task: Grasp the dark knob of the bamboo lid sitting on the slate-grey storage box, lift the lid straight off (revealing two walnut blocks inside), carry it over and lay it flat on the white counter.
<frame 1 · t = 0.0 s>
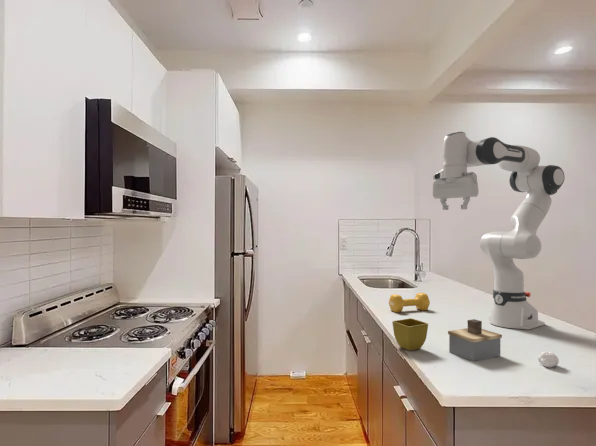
hand: (454, 209, 163), 48 cm above the countertop, fingers open, 8 cm apart
dumbbell: (409, 311, 204), on the countertop
box: (474, 354, 138), on the countertop
microfossil shell: (547, 366, 128), on the countertop
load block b: (468, 355, 137), resting in box
lid: (474, 335, 138), point 6 cm above the countertop, touching box
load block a: (480, 353, 140), resting in box
flower pot: (409, 348, 145), on the countertop
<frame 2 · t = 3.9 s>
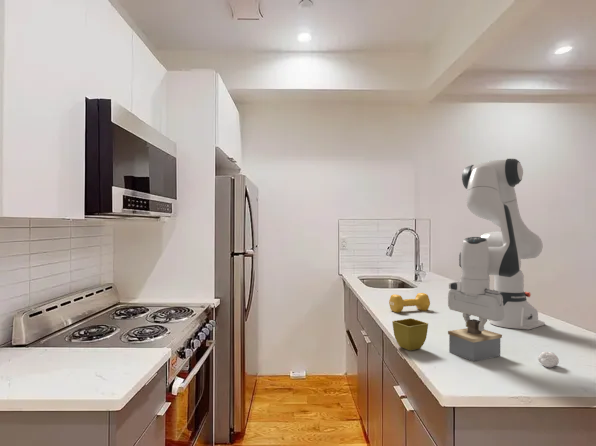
hand: (474, 328, 138), 8 cm above the countertop, fingers closed on lid, 3 cm apart
lid: (474, 335, 138), point 6 cm above the countertop, touching box, gripper
everything else where it was.
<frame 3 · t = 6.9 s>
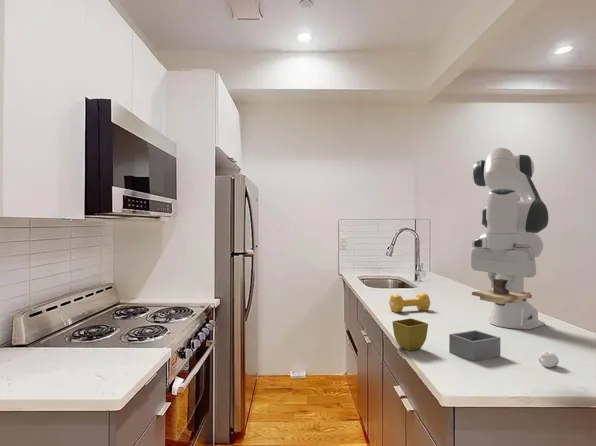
hand: (501, 288, 126), 23 cm above the countertop, fingers closed on lid, 3 cm apart
lid: (501, 296, 126), point 21 cm above the countertop, touching gripper
everything else where it was.
when the fingers open (5 cm above the countertop, at t = 10.1 s): lid drops 1 cm, point 1 cm above the countertop.
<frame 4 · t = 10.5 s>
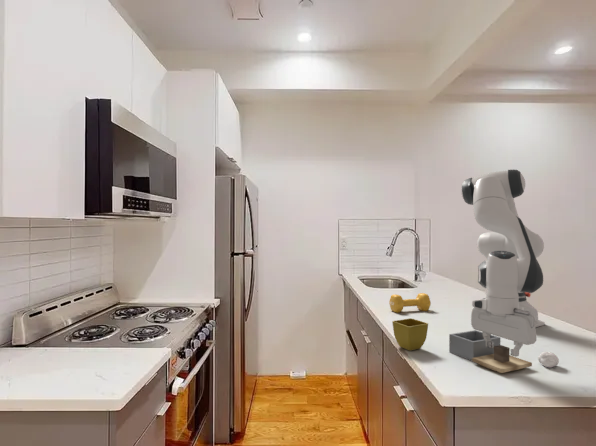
hand: (501, 351, 127), 5 cm above the countertop, fingers open, 7 cm apart
lid: (501, 363, 127), point 1 cm above the countertop
everything else where it was.
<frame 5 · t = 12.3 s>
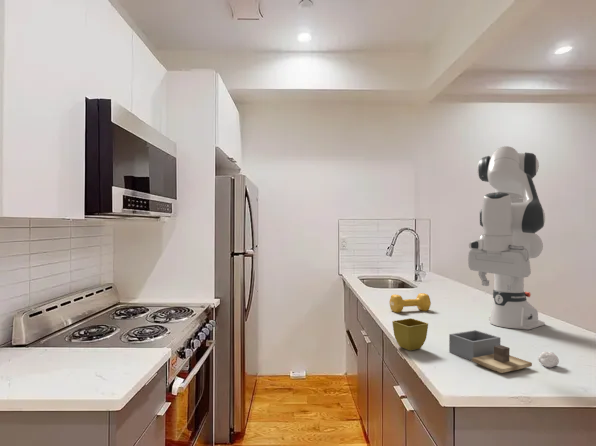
hand: (498, 288, 133), 23 cm above the countertop, fingers open, 8 cm apart
nothing on the countertop moved.
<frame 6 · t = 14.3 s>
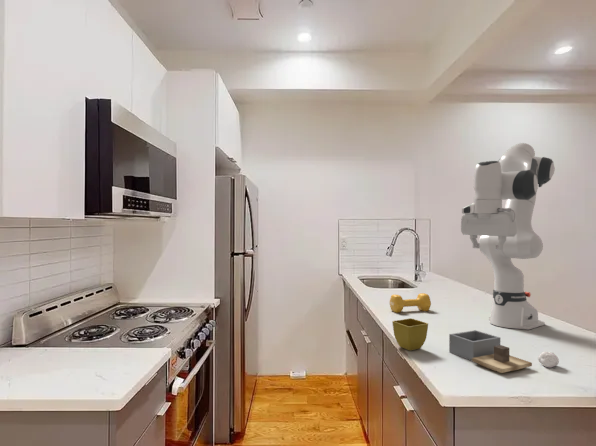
hand: (487, 249, 143), 34 cm above the countertop, fingers open, 8 cm apart
nothing on the countertop moved.
at the end: lid inside the target area (0.1 cm from its centre), point 0.9 cm above the countertop; lid tilted 0°; lid touching countertop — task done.
